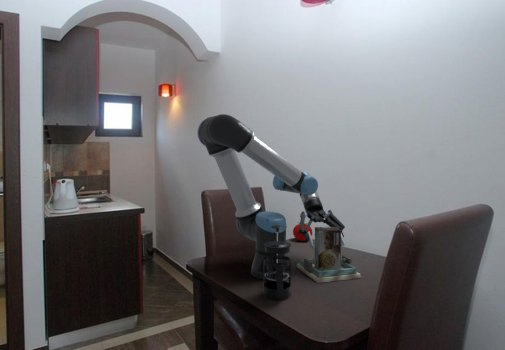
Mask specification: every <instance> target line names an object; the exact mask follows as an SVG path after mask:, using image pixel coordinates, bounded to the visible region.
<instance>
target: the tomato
mask: <svg viewBox="0 0 505 350" xmlns="http://www.w3.org/2000/svg"><path fill="white" fill-rule="evenodd" d="M307 224H308V222H307V223H304V226H303V229H304V230H305V228H306V226H307ZM299 225H300V222H297V224H295V226H294V227H293V229H292V234H293V237H294V238H295V239H296V240H297V241H300V242H305V241H306V240H305V237H304V236H303V235H302V234H299V233H298V230H299ZM307 232H310V234H311V237H312V236H313V229H312V226H310V227H309V229H308V231H307ZM306 242H307V241H306Z"/></svg>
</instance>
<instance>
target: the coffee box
mask: <svg viewBox="0 0 505 350" xmlns="http://www.w3.org/2000/svg"><path fill="white" fill-rule="evenodd" d="M341 254H342V247H341V230H340V229H339V228H337V227H330V226H315V227H314V258H315V265H314V266H315V268H316V269H318V270H319V271H327V270H336V269H341V260H342V255H341Z"/></svg>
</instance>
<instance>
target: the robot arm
mask: <svg viewBox="0 0 505 350" xmlns="http://www.w3.org/2000/svg"><path fill="white" fill-rule="evenodd" d="M196 134H197V138H198V141H199V142H200V143H201V144H202V145H203V146H205V148H206V150H207V153H208V155H209V156H211V157H213V158H214V159H215V162H216V164H217V167H218V169H219V171H220V174H221V175H222V178H223V180H224V183H225V185H226V187H227V189H228V193H229V194H230V198H231V199H232V202H233V204H234V207H235V208H236V212H235V213H234V216H235V218H236V221H235V222H236V223H235V224H236V229H237V231H238V232H239V233H240V234H241V235H242V237H244V238H246V239H248V240H251V241H254V242H255V255H254V258H253V261H252V264H251V266H250V275H251V276H253V277H254V278H256V279H259V280H263V281H264V257H266V256H270V255H277V254H271V253H267V252H266V251H265V246H264V243H266V242H269V241H277V232H276V228H272V227H271V226H274V225H281V226H283V227H284V228H280V229H279V232H278V241H283V242H287V219H286V217H285V215H283V214H282V213H279V212H274V211H270V210H269V211H266V210H265V211H264V208H263V205H262V204H261V203H260V202H257V201H256V198H255V197H254V193H253V191H252V189H251V187H250V184H249V181H248V180H247V177H246V174H245V172H244V170H243V167H242V164H241V162H240V159H239V157H238V154H240V153H242V154H244V155H246V157H248V158H250V159H251V160H253V161H254V163H257V164H258V165H259V166H261V167H262V168H264V169H265V170H266V171H268V172H269V173H270V174H272V175H274V176H273V179H272V186H273V188H274V190H276V191H280V192H288V193H294V194H299V197H300V199H301V202H302V204H303V208H304V210H305V211H301V212H300V214H299V217H300V219H299V220H300V222H299V223H300V225H299V230H298V233H299V234H302V235H303V236H304V237H305V240H306V242H307V243H308V247H309V249H310V250H314V249H315V242H314V241H313V237H312V236H311V234H310V232H307V231H308V229H309V227H311V225H312V223H315V224H316V223H323V224H326V225H327V227H337V228H339V229H340V230H341V248H342V247H344V246H345V245H346V241H345V239H344V237H345V235H344V232H343V231H344V230H345V227H346V226H345V224H344V223H342V222H341V221H340V219H339V218H337V216H336V215H335V214H333V212H332V210H331V209H329V210H327V211H325V210H324V206H323V203H322V201H321V199H320V196H319V194H318V192H317V191H318V188H319V182H318V180H317V179H316V177H315V176H311V174H310V173H309V172H307V171H302V170H300V169H298V167H295V165H294V164H292V163H290V161H288V160H287V159H285V158H284V157H283V156H281V155H280V154H279V153H278V152H276V151H275V150H274V149H273V148H271V147H270V146H268V145H267V144H266V143H265V142H263V141H262V140H260V139H259V138H258V137H257V136H256V135H255V132H254V130H252V129H251V128H250V127H248V126H247V125H246V124H244V123H243V122H241V121H240V120H238V119H237V118H236V117H234V116H231V115H230V114H224V113H221V114H217V115H214V116H209V117H207V118H205V119H203V120H202V121H201V122H200V124H199V125H198V128H197V133H196ZM236 152H237V153H238V154H237V153H236ZM306 217H307V218H308V219H309V220H308V222H307V226H306V228H305V230H304V229H303V226H304V224H305V220H306ZM278 255H283V256H287V253H285V254H278ZM266 261H268V262H272V263H273V259H270V260H266ZM284 262H288V261H287V260H283V259H278V263H284ZM272 269H273V267H271V266H267V265H265V274H266V273H268V272H272ZM283 272H285V273H288V274H289V266H285V267H283ZM265 281H268V280H267V279H266V278H265Z"/></svg>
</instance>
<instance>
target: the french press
mask: <svg viewBox="0 0 505 350" xmlns="http://www.w3.org/2000/svg"><path fill="white" fill-rule="evenodd" d="M271 227H272V228H276V232H277V241H269V242H266V243H264V246H265V251H266V252H267V253H271V254H277V255H270V256H266V257H264V280H263V289H262V290H263V291H262V296H263V295H264V296H263V297H264V298H265V299H267V300H271V299H273V300H272V301H285V300H288V299H290V298H291V296H292V292H291V289H292V288H291V285H292V284H291V277H292V259H291V257H289V256H287V255H286V256H283V255H278V254H285V253H286V254H288V253H290V250H291V249H290V248H291V247H292V244H291V243H290V242H287V241H286V242H283V241H278V232H279V229H280V228H284V227H283V226H281V225H274V226H271ZM270 259H273V263H272V262H268V261H266V260H270ZM278 259H283V260H287V261H288V262H284V263H278ZM265 265H267V266H271V267H273V269H272V272H268V273H266V274H265ZM285 266H289V274H288V273H285V272H283V267H285ZM265 278H266V279H267V280H265Z"/></svg>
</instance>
